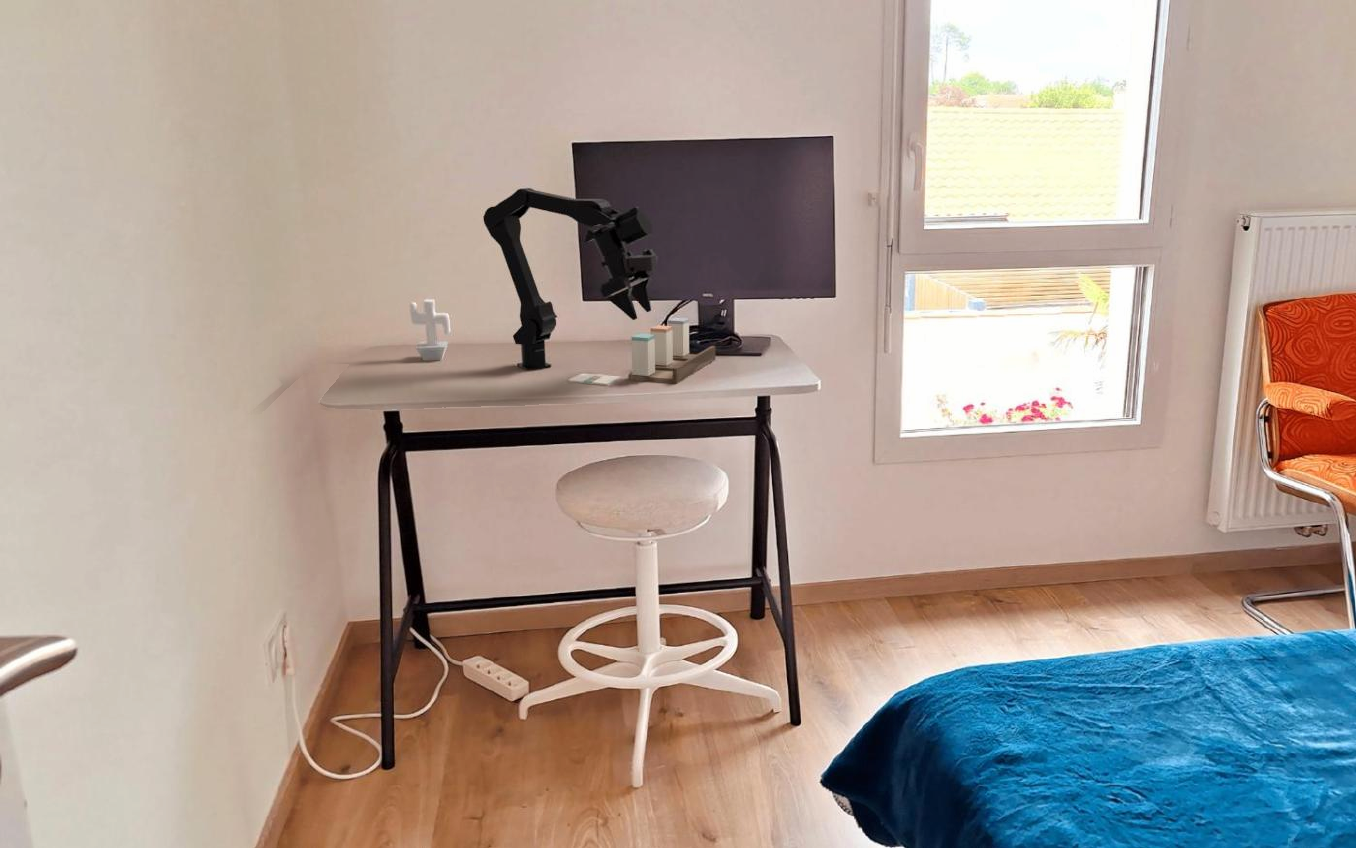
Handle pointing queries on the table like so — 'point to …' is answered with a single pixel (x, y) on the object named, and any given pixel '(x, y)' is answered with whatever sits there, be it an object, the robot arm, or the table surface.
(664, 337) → the peach block
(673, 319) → the grey topped white block
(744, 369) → the table surface
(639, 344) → the white tall block
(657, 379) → the brown divided rack
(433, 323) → the figurine
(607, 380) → the pattern card
